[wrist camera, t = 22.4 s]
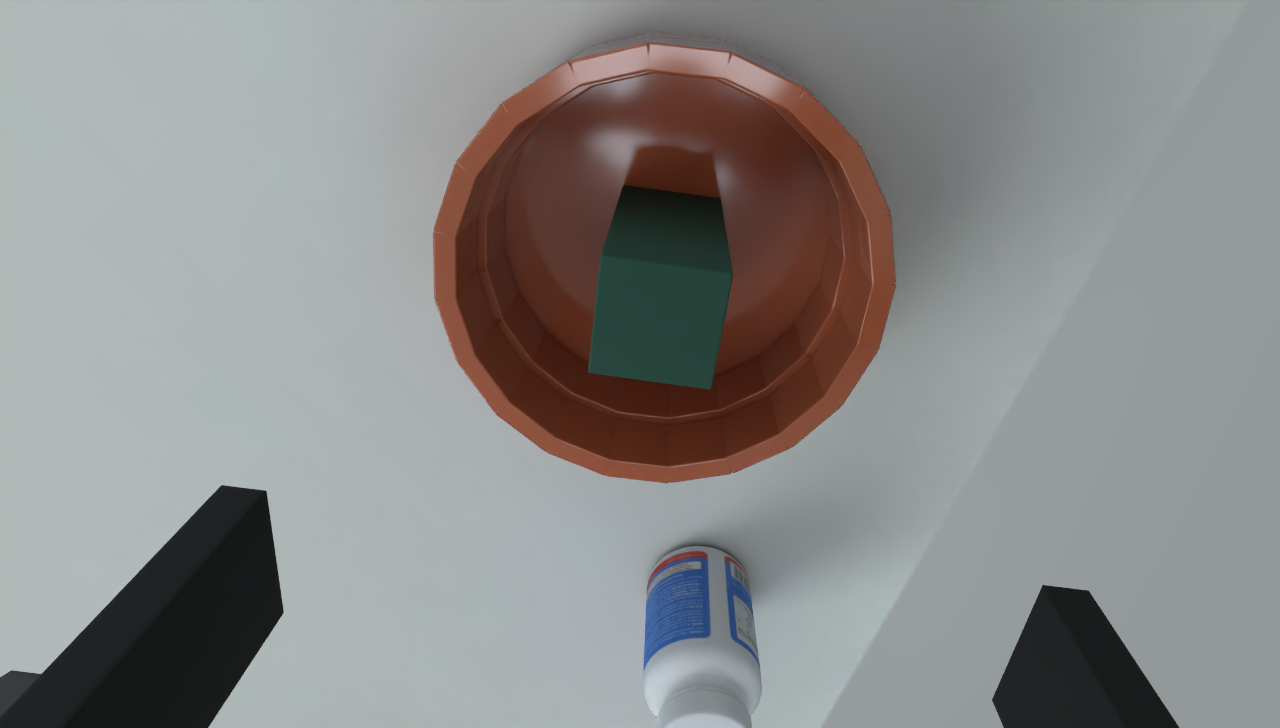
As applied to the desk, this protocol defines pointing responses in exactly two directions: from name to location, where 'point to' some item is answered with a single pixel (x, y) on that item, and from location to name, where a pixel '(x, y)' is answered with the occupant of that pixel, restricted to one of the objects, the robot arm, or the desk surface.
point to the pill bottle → (700, 642)
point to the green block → (662, 289)
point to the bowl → (578, 226)
